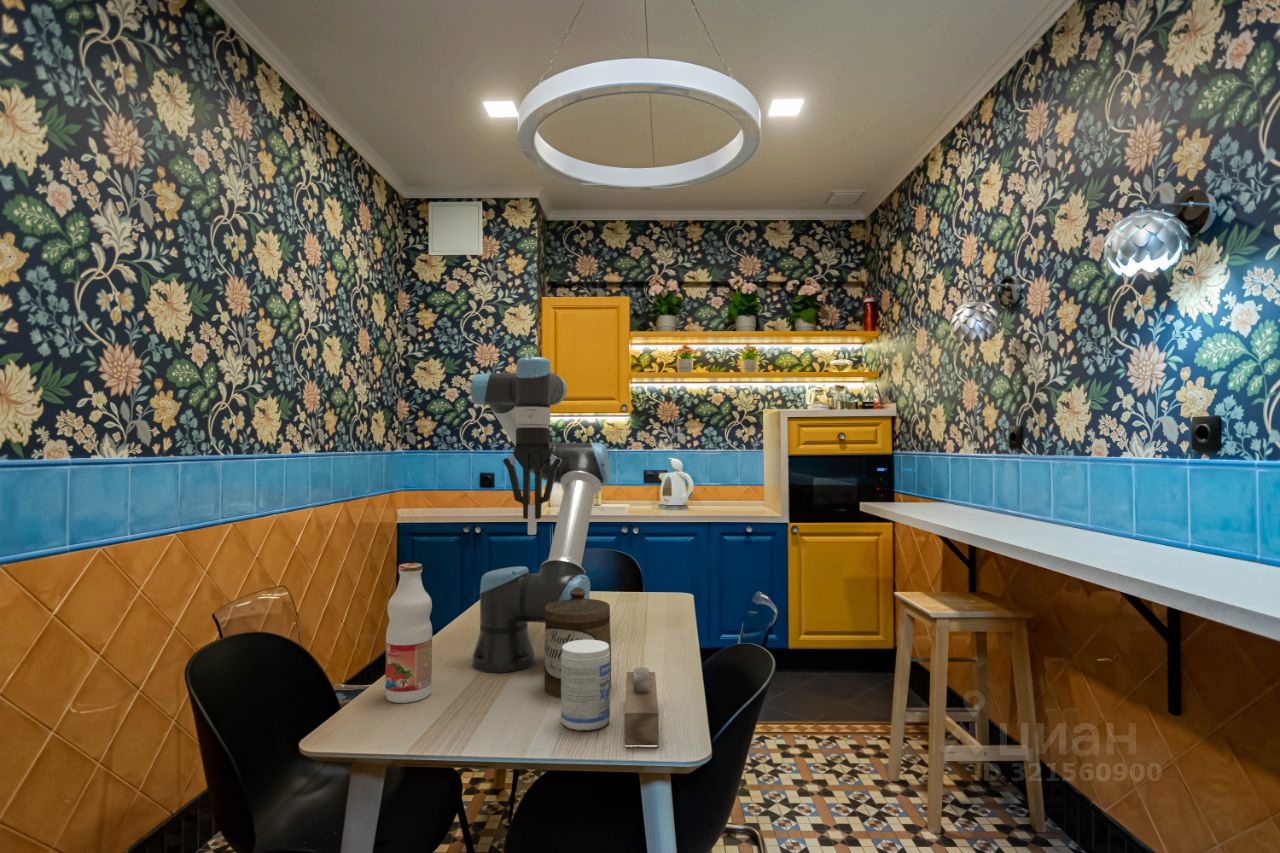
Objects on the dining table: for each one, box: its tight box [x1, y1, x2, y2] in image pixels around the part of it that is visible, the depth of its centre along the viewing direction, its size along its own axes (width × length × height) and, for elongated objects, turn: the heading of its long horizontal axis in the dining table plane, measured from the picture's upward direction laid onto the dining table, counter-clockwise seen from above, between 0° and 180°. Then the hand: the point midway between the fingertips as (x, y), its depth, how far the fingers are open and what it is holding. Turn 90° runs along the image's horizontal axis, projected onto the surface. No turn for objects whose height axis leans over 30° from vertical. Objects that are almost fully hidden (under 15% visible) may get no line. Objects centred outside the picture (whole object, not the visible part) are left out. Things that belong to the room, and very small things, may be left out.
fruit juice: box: [384, 562, 433, 704], centre depth 142 cm, size 9×9×28 cm
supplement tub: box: [560, 640, 611, 731], centre depth 127 cm, size 10×10×15 cm
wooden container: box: [543, 588, 612, 698], centre depth 147 cm, size 15×15×22 cm
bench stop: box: [624, 666, 660, 746], centre depth 127 cm, size 6×22×10 cm, turn 0°
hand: (532, 533), depth 145 cm, fingers closed
